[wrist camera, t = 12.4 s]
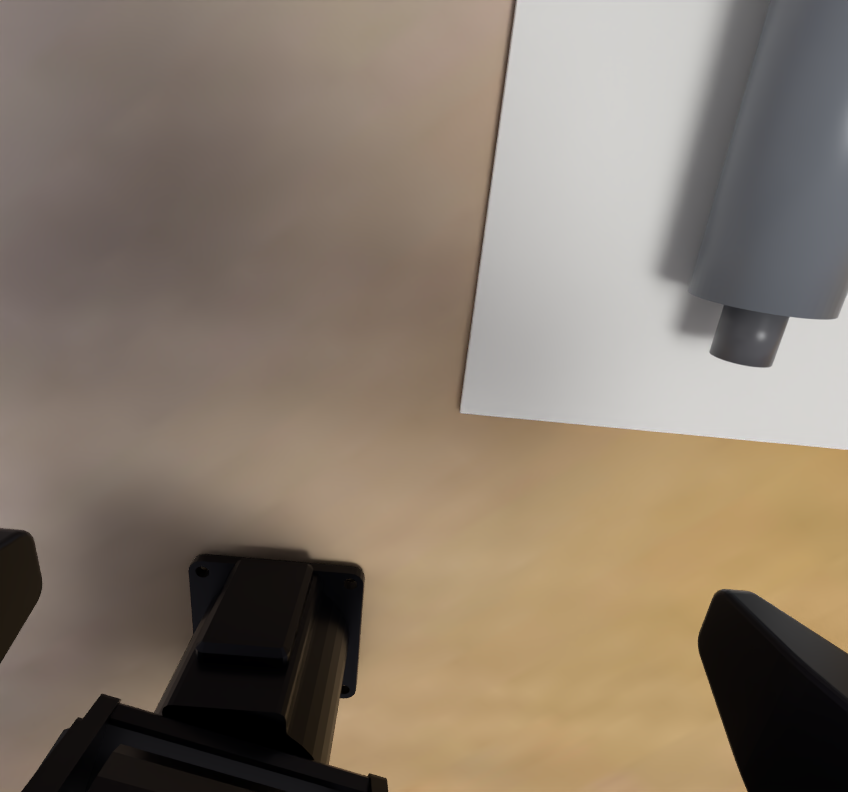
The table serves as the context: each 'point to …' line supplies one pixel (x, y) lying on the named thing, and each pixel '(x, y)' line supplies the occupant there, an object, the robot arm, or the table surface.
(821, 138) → the marker
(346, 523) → the table surface
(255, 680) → the robot arm
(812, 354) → the paper sheet
